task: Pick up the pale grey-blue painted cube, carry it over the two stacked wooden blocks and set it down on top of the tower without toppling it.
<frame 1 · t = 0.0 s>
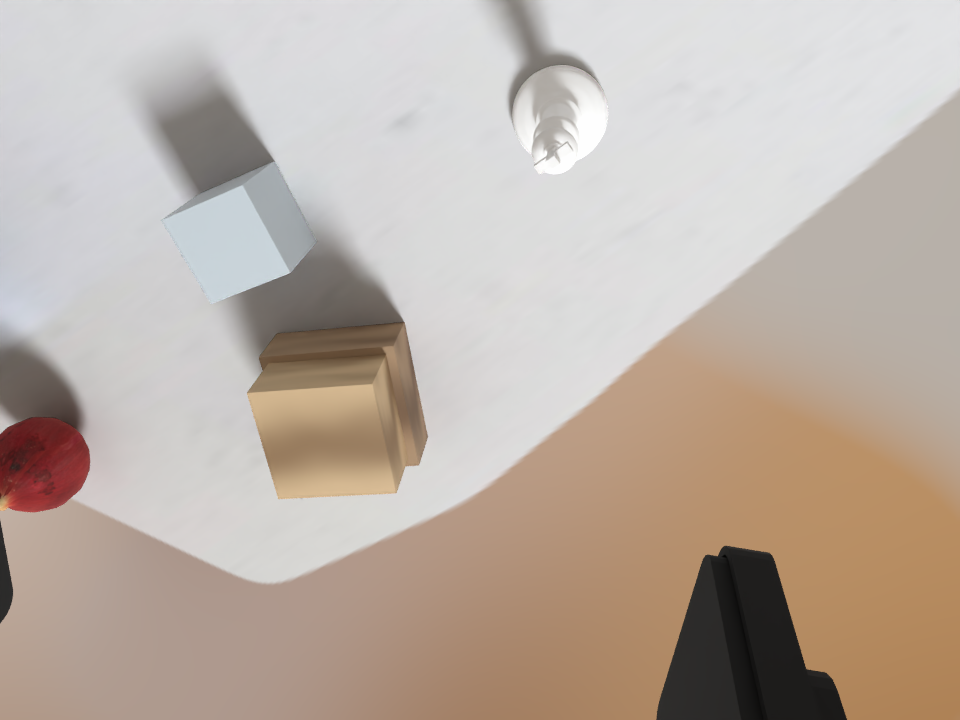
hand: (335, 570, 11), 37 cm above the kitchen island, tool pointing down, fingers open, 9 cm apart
chess piece: (560, 114, 44), on the kitchen island
bottom block: (355, 383, 53), on the kitchen island
onion: (71, 431, 57), on the kitchen island
top block: (339, 411, 50), point 3 cm above the kitchen island
cube: (259, 217, 49), on the kitchen island
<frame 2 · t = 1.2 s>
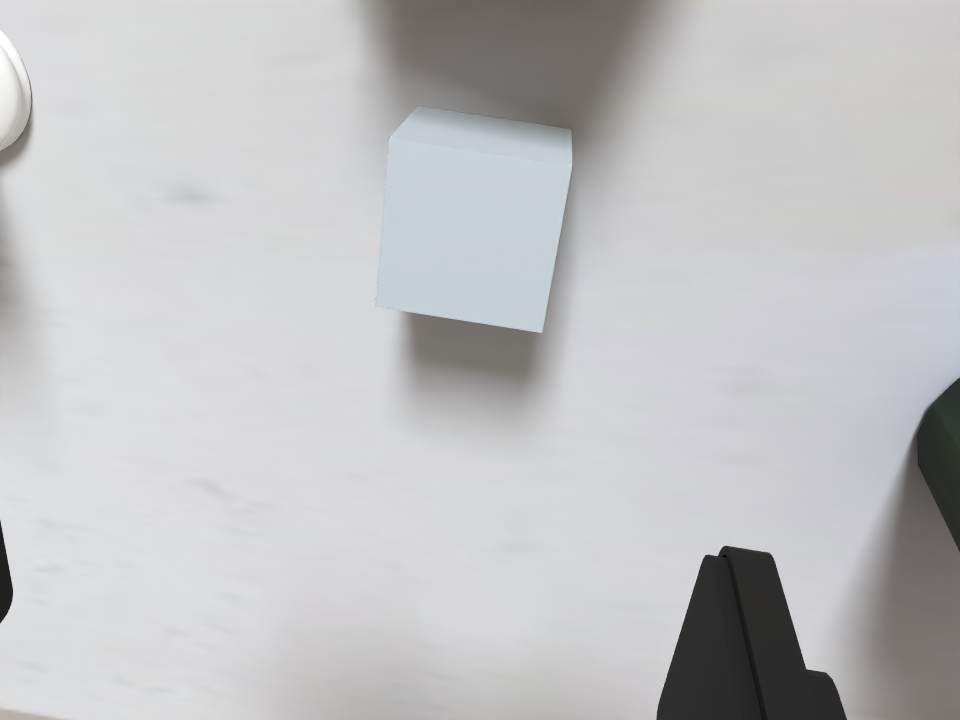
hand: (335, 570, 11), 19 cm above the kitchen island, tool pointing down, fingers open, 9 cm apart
cube: (484, 192, 29), on the kitchen island
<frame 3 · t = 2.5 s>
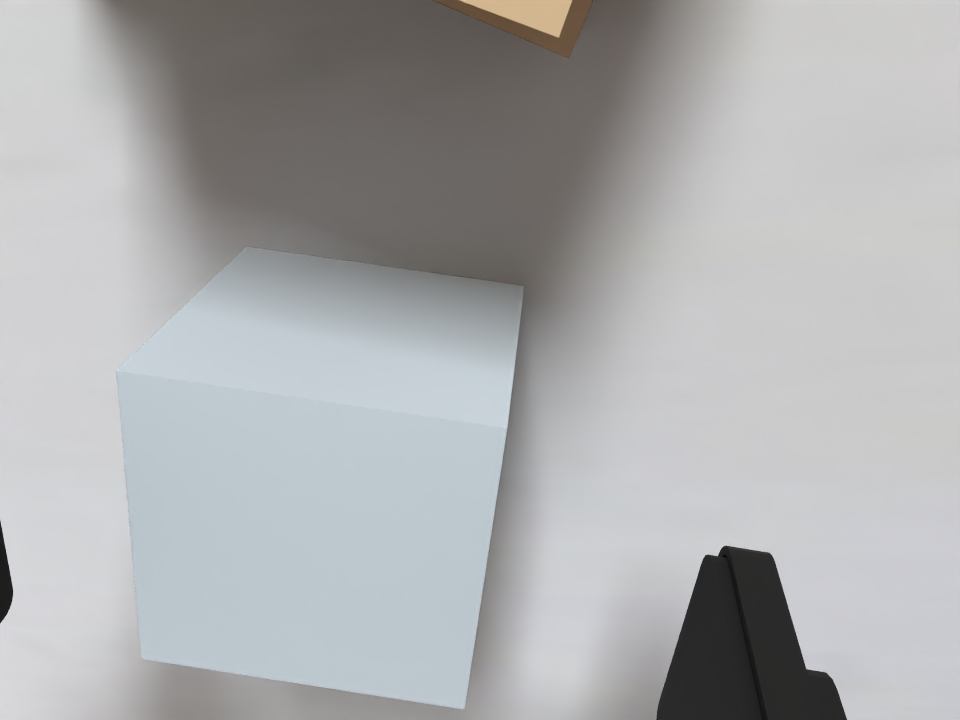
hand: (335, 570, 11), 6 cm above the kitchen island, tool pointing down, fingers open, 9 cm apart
cube: (377, 386, 16), on the kitchen island
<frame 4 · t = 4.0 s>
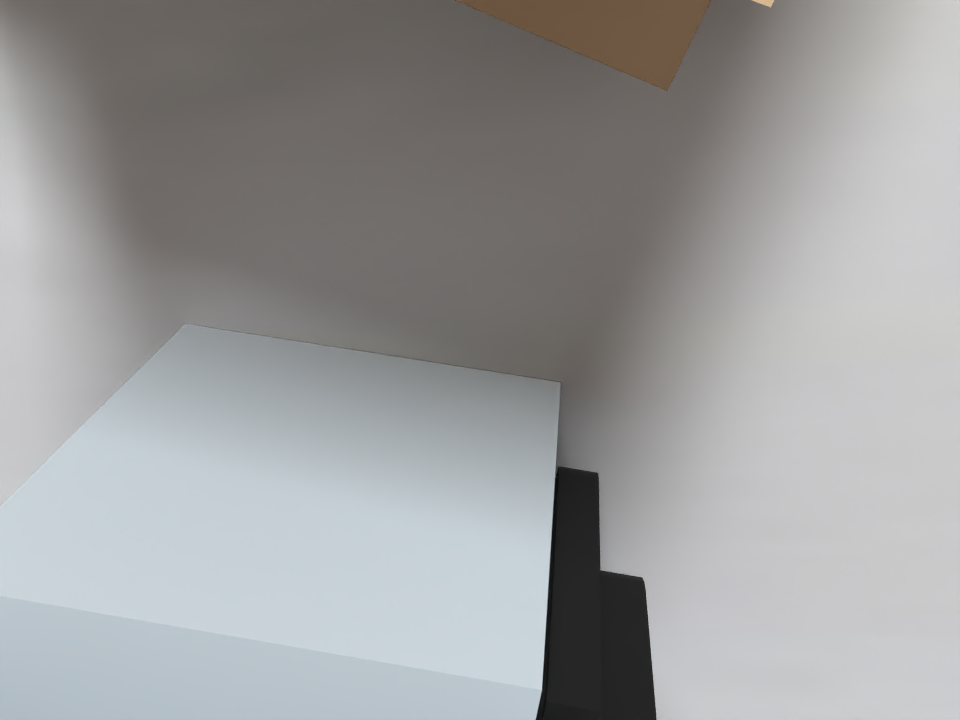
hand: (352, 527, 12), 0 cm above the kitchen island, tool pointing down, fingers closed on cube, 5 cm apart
cube: (361, 505, 12), on the kitchen island, touching gripper
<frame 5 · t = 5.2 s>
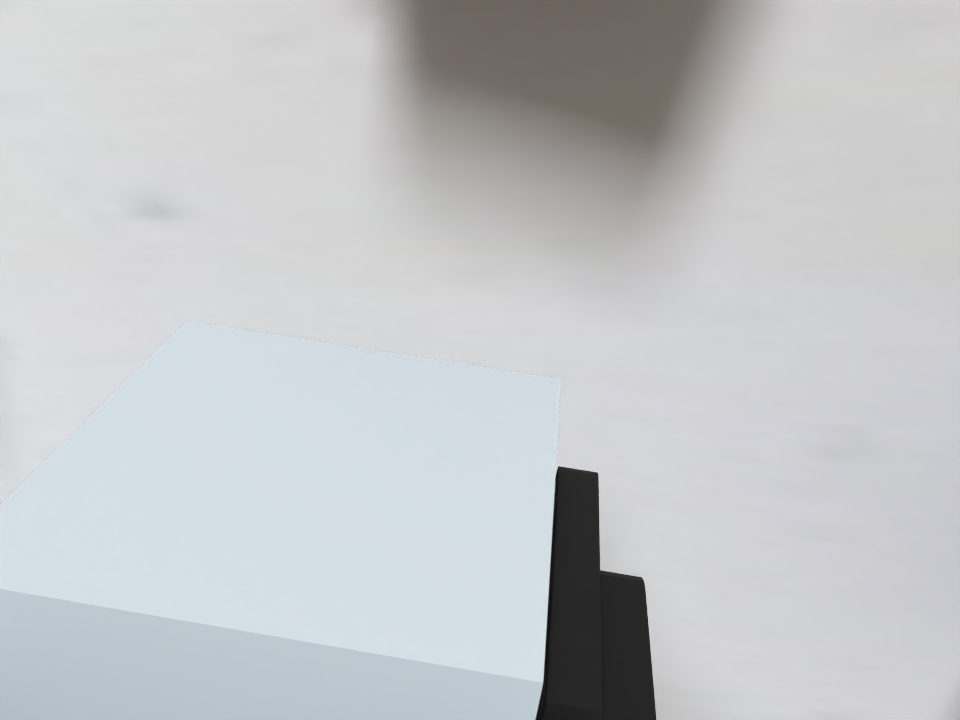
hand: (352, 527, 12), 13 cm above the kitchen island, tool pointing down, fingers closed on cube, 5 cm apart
cube: (362, 502, 12), point 12 cm above the kitchen island, touching gripper
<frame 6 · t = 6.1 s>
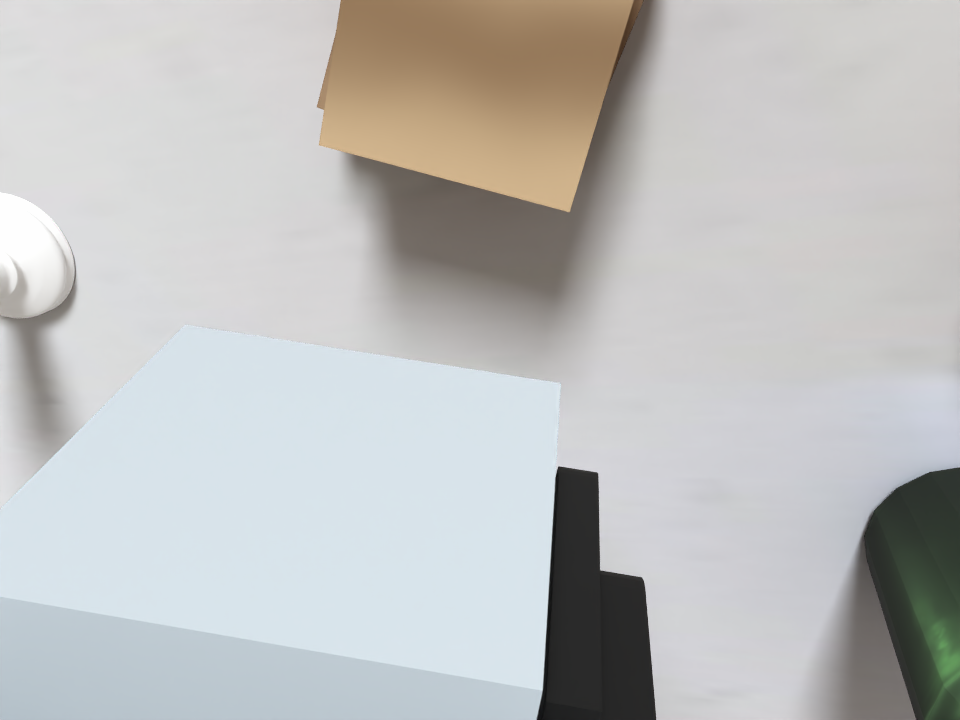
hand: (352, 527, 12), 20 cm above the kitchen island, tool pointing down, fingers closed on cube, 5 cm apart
chess piece: (16, 253, 33), on the kitchen island
potion bottle: (946, 527, 34), on the kitchen island
bottom block: (494, 13, 28), on the kitchen island, touching top block
top block: (487, 31, 25), point 3 cm above the kitchen island, touching bottom block
cube: (361, 506, 12), point 19 cm above the kitchen island, touching gripper
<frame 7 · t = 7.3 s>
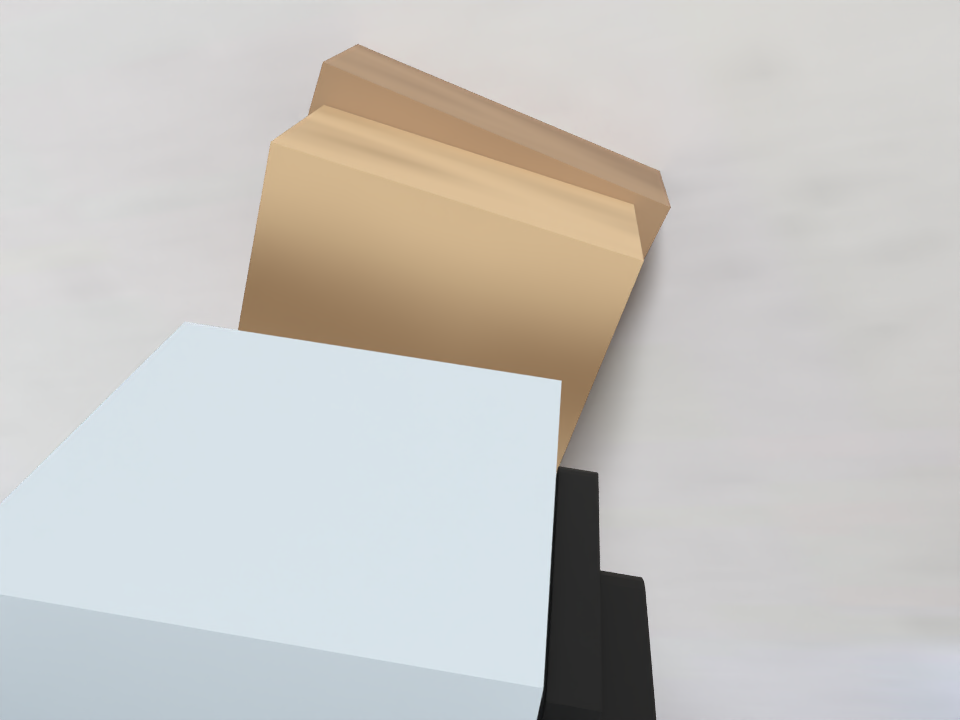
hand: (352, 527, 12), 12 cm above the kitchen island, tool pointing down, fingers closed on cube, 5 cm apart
bottom block: (456, 245, 23), on the kitchen island, touching top block
top block: (438, 297, 20), point 3 cm above the kitchen island, touching bottom block
cube: (361, 504, 12), point 12 cm above the kitchen island, touching gripper
when the fingers open (8 cm above the kitchen island, at t = 8.9 s): cube drops 1 cm, resting on top block.
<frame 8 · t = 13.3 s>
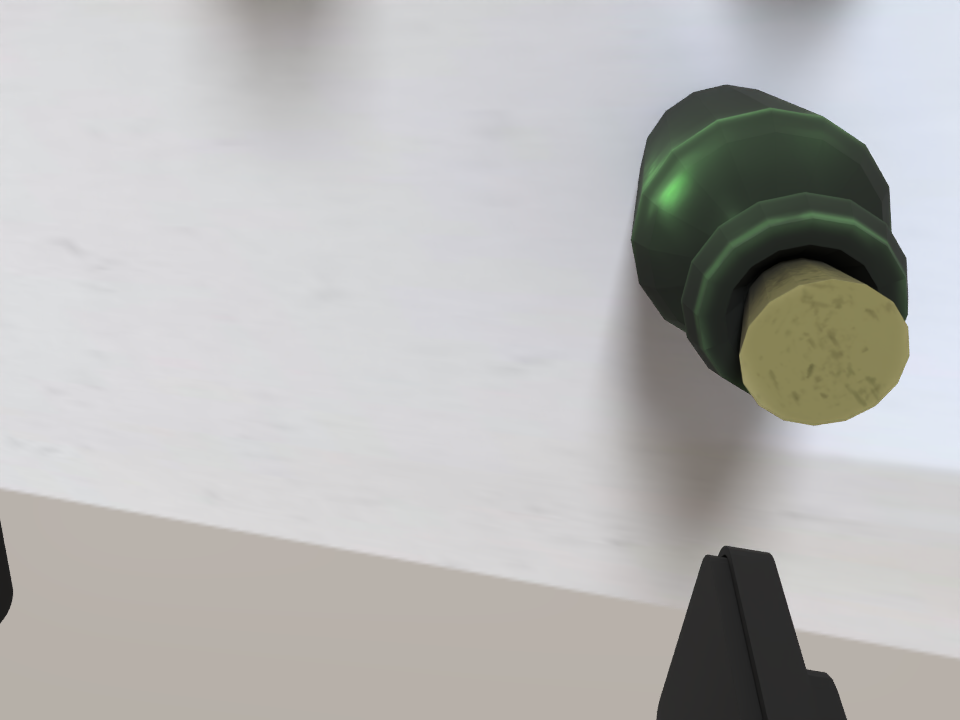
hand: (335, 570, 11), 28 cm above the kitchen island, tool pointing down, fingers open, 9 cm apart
potion bottle: (718, 162, 36), on the kitchen island
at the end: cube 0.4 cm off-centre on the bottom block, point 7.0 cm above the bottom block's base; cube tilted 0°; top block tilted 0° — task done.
